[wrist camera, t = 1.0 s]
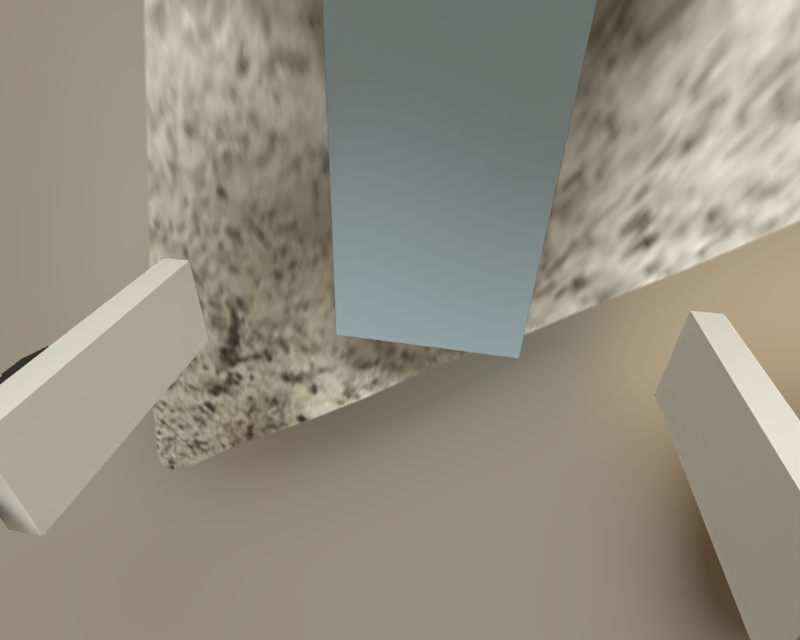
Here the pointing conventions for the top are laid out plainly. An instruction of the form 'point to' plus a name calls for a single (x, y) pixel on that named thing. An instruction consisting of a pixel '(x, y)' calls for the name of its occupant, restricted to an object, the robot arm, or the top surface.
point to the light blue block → (446, 161)
